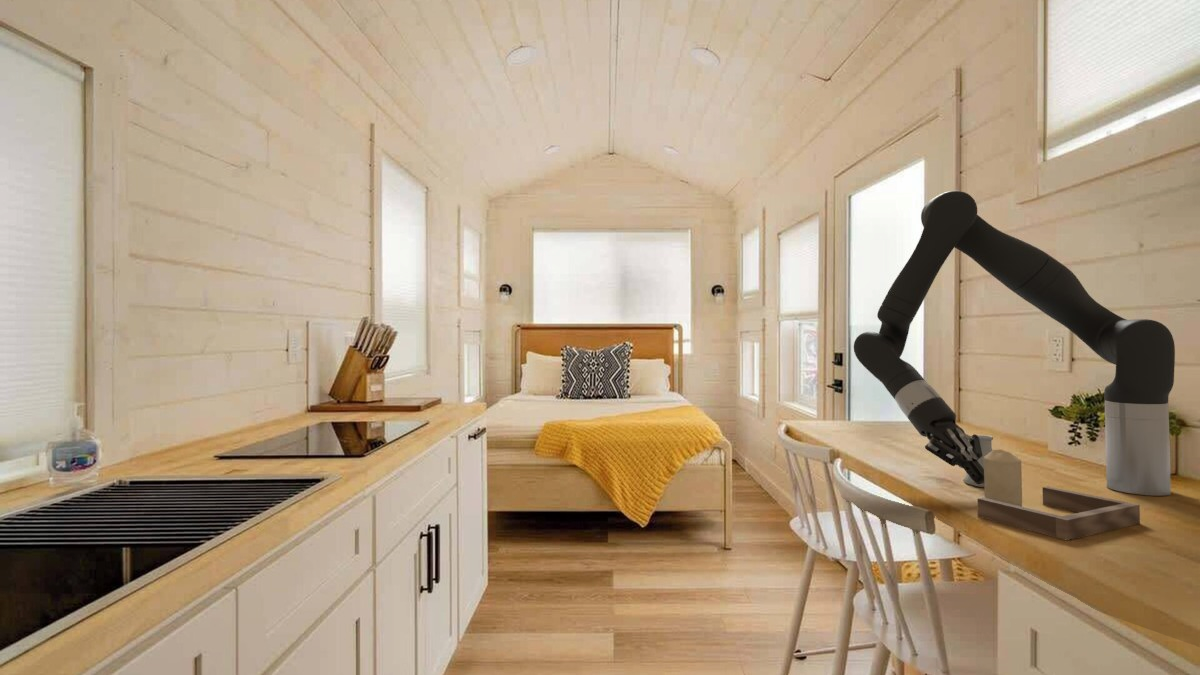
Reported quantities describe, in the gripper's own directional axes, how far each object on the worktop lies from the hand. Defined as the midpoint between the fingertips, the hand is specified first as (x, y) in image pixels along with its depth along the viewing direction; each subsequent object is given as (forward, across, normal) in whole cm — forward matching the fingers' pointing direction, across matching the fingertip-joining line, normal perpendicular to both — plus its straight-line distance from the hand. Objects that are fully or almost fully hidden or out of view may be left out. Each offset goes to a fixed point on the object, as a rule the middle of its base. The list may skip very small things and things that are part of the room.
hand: (984, 481), depth 108 cm
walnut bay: (+10, 0, -5) cm, 12 cm away
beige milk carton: (+5, 0, 0) cm, 5 cm away
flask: (-3, +13, +9) cm, 16 cm away
